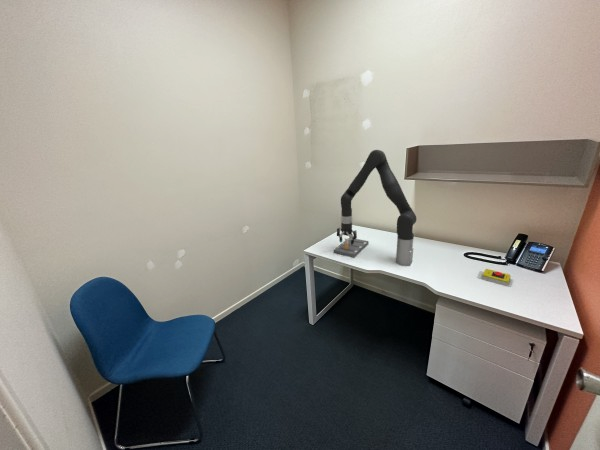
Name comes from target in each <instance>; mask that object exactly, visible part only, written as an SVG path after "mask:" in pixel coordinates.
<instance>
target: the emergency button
mask: <svg viewBox="0 0 600 450" xmlns="http://www.w3.org/2000/svg"><path fill="white" fill-rule="evenodd" d="M476 278H477V279H478V280H483V281H486V282H490V283H494V284H497V285H501V286H503V287H509V288H511V287H513V283H514V279H512V278H511V274H509V273H505V272H501V271H497V270H492V269H489V268H485V269H484V271H479V273H478V275H477V277H476Z"/></svg>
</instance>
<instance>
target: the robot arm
mask: <svg viewBox="0 0 600 450" xmlns="http://www.w3.org/2000/svg"><path fill="white" fill-rule="evenodd" d="M375 169H376V171H377V173H378V175H379V178H380V182H381V186H382V189H383V191H384V193H385V195H386V197H387V198H388V199H389V200H390V202H392V204H394V206H396V209H397V211H398V212H399V216H398V217H397V218H396V219H397V221H396V235H397V241H396V254H395V262H396V264H398V265H400V266H411V265H412V263H413V257H414V248H413V247H414V246H413V245H414V237H415V236H414V235H415V234H414V233H413V227H414V225H415V224H416V222H417V216H416V213H415V212H414V210H413V208H412V207H411V205H410V204H409V202H408V200H407V198H406V196H405V194H404V191H403V189H402V187H401V185H400V183H399V181H398V179H397V177H396V175H395V173H394V172H393V170H391V167H390V164H389V162H388V160H387V156H386V154H385V152H384V151H383V150H380V149H374V150H372V151H370V152H369V155H368V157H367V158H366V161H365V162H364V164H363V165H362V167H361V169H360V170H359V172H358V173H357V175H356V176H355V177H354V178H353V180H352V181H351V183H350V184H349V186H348V188H346V190H345V191H344V193H343V194H342V195H341V196H340V207H341V217H340V227H338V228H336V237H338V238H339V240H338V241H339V242H340V243H343V236H347V237H348V238H351V245H352V244H353V243H354V240H355V239H358V238H357V237H358V236H357V235H358V234H357V233H358V232H357V230H353V213H352V212H353V208H352V200H353V199H354V198H355V196H356V195H357V193H358V192H360V190H361V189H362V187H363V186H364V185H365V183H366V181H367V180H368V178H369V176H370V175H371V173H372V172H373V170H375Z"/></svg>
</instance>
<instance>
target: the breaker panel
mask: <svg viewBox="0 0 600 450" xmlns="http://www.w3.org/2000/svg"><path fill="white" fill-rule="evenodd" d="M369 242H370V241H369V240H365V239H359V238H356V239H355V240H354V243H353V244H352V245H351V238H350V237H345V238H344V240H343V241H342V242H341V243H340V245H337V247H335V248H334V249H333V254H335V255H341V256H345V257H349V258H353V259H355V258H356V257H357V256H358V255H359V254H360V253H361V252H362V251H363V250H364V249H365V248H366V247H367V246H368V245H369ZM345 243H349V249H348V250H347V249H345Z"/></svg>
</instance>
